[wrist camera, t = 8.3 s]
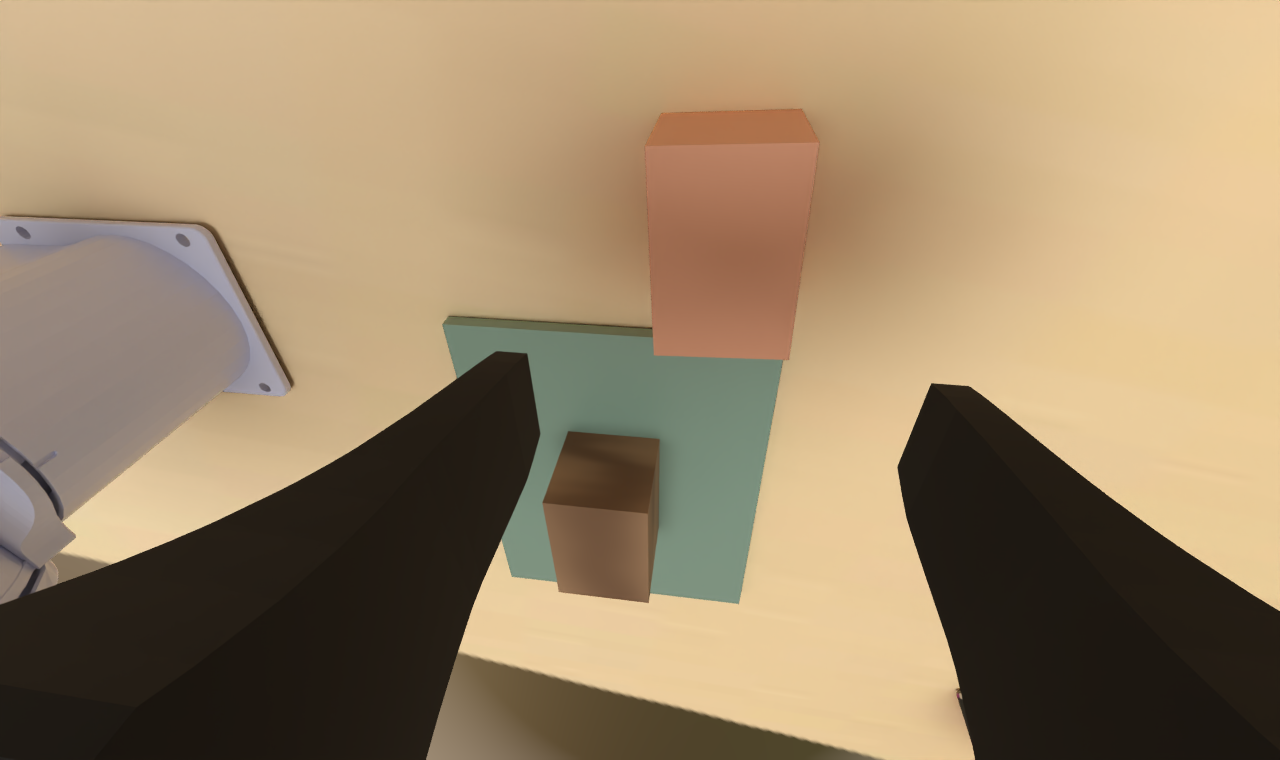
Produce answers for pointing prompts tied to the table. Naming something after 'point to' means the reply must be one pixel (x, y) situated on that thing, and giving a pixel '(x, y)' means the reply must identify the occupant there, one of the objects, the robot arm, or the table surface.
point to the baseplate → (650, 408)
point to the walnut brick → (604, 515)
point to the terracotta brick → (728, 230)
